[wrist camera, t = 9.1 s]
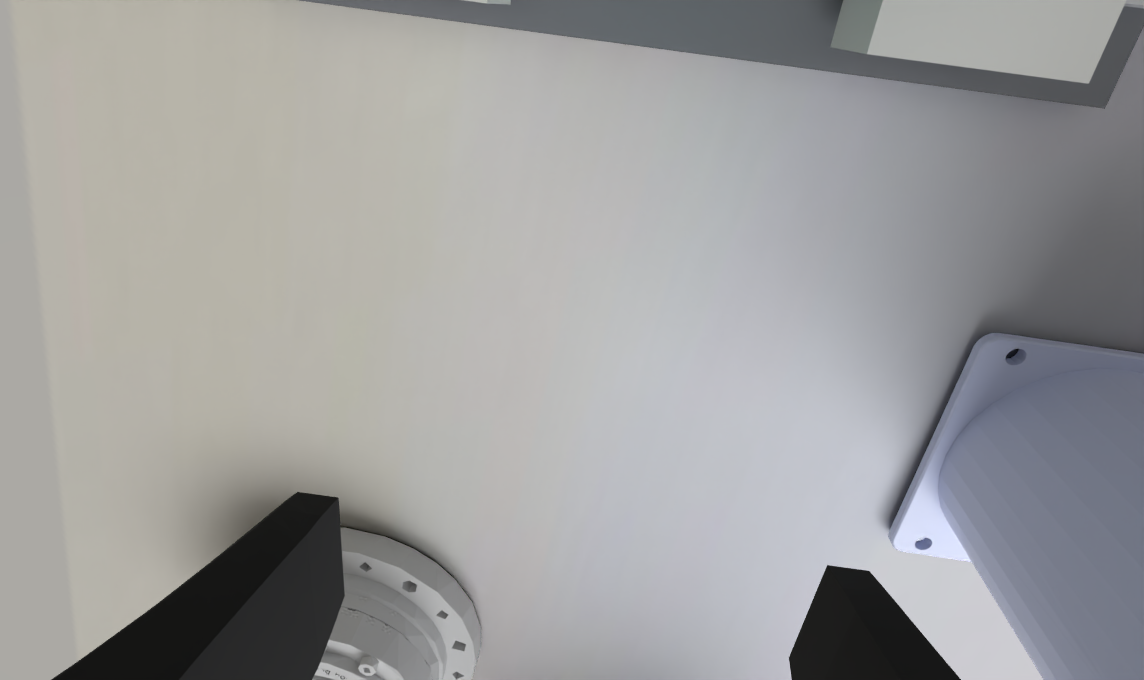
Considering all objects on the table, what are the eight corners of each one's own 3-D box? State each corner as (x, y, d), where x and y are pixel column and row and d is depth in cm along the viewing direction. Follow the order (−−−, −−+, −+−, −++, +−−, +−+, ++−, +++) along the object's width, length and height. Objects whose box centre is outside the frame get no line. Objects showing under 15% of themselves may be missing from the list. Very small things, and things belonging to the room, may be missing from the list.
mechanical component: (460, 518, 24) (207, 521, 25) (425, 620, 20) (126, 617, 21) (499, 696, 28) (282, 691, 29) (477, 808, 24) (228, 796, 25)
